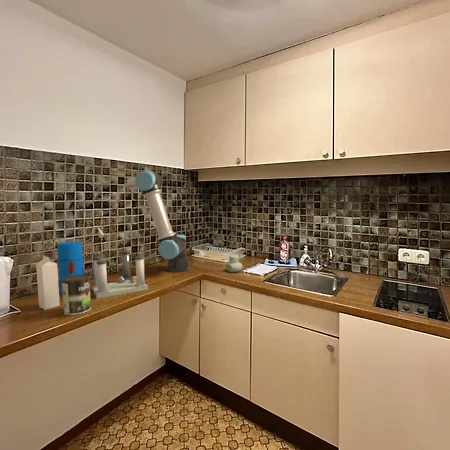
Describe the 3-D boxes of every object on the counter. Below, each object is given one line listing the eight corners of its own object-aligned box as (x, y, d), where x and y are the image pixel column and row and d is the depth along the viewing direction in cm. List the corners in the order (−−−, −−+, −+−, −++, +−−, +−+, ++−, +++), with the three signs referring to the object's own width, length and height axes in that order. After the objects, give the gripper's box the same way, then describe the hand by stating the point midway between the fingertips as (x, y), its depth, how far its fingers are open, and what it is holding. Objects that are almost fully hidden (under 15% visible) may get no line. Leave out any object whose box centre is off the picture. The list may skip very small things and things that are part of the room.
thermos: (60, 297, 136) (57, 245, 133) (59, 291, 145) (56, 242, 142) (85, 293, 141) (83, 243, 139) (83, 287, 150) (80, 240, 148)
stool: (139, 281, 160) (138, 251, 158) (147, 289, 146) (146, 256, 144) (92, 289, 147) (90, 256, 145) (97, 298, 133) (95, 262, 132)
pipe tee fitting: (244, 272, 179) (244, 256, 178) (234, 274, 174) (233, 258, 173) (233, 268, 188) (233, 253, 187) (223, 270, 183) (223, 255, 182)
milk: (53, 303, 128) (50, 254, 126) (59, 305, 125) (57, 256, 123) (38, 307, 123) (35, 256, 122) (44, 310, 120) (41, 258, 118)
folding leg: (124, 276, 161) (123, 250, 160) (132, 277, 161) (131, 250, 159) (116, 282, 150) (115, 254, 149) (124, 282, 150) (123, 254, 149)
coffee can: (96, 306, 123) (94, 274, 122) (79, 316, 113) (77, 281, 112) (75, 305, 125) (73, 273, 124) (57, 314, 115) (55, 280, 114)
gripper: (90, 211, 180) (108, 239, 173) (70, 211, 169) (89, 241, 162) (95, 202, 177) (114, 230, 170) (75, 203, 166) (94, 233, 159)
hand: (102, 236), depth 166 cm, fingers closed
